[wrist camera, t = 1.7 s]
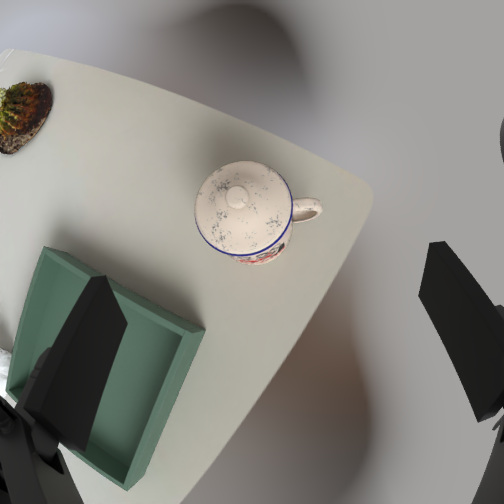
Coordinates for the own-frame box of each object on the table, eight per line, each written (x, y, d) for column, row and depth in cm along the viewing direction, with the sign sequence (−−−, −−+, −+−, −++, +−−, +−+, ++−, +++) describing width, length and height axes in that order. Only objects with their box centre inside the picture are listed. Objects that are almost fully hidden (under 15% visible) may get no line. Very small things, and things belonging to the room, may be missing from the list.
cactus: (-11, 148, 49) (-41, 131, 40) (25, 85, 51) (-1, 63, 41) (25, 163, 46) (-11, 142, 36) (67, 88, 47) (38, 60, 38)
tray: (206, 330, 37) (192, 333, 32) (143, 476, 34) (127, 491, 29) (66, 252, 41) (43, 246, 36) (26, 386, 39) (5, 390, 34)
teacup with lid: (219, 271, 37) (185, 256, 26) (213, 197, 39) (182, 155, 28) (324, 259, 36) (336, 238, 25) (313, 183, 38) (317, 135, 26)
